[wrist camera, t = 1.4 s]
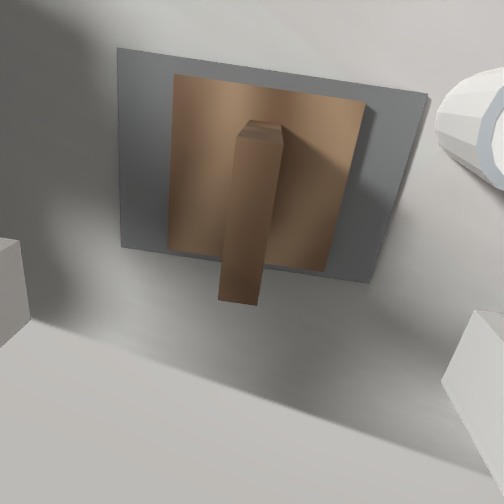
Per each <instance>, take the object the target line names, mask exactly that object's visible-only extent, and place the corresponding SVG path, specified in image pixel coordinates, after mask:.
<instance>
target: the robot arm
mask: <svg viewBox="0 0 504 504" xmlns="http://www.w3.org/2000/svg"><path fill="white" fill-rule="evenodd" d="M30 320H31V317H30V310H29V303H28V296H27V289H26V282H25V275H24V269H23V262H22V255H21V248H20V241H19V240H14V239H7V238H1V237H0V348H1V347H2V346H3V345H4V344H5V343H6V342H7V341H8V340H9V339H10V338H12V337H13V336H14V335H15V334H16V333H17V332H18V331H19V330H20V329H21V328H22V327H23V326H24V325H26V324H27V323H28V322H29V321H30ZM441 384H442V386H443V387H444V389H445V391H446V393H447V395H448V397H449V398H450V400H451V402H452V404H453V406H454V407H455V409H456V411H457V413H458V415H459V417H460V418H461V420H462V422H463V424H464V426H465V427H466V429H467V431H468V433H469V435H470V437H471V438H472V440H473V442H474V444H475V446H476V447H477V449H478V451H479V453H480V455H481V456H482V458H483V460H484V462H485V464H486V466H487V467H488V469H489V471H490V473H491V475H492V476H493V478H494V480H495V482H496V484H497V485H498V487H499V489H500V491H501V493H502V494H503V496H504V316H503V315H502V314H501V313H496V312H489V311H482V310H476V309H474V311H473V314H472V316H471V318H470V320H469V322H468V324H467V327H466V329H465V331H464V333H463V335H462V337H461V339H460V342H459V344H458V346H457V348H456V350H455V352H454V355H453V357H452V359H451V361H450V363H449V365H448V367H447V370H446V372H445V374H444V376H443V378H442V380H441Z"/></svg>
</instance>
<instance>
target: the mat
mask: <svg viewBox="0 0 504 504" xmlns="http://www.w3.org/2000/svg"><path fill="white" fill-rule="evenodd" d="M117 74H118V125H119V176H120V228H121V247H124V248H131V249H138V250H144V251H151V252H158V253H165V254H172V255H178V256H185V257H192V258H199V259H206V260H212V261H219V262H222V258H223V257H217V256H210V255H203V254H197V253H190V252H183V251H176V250H169V249H167V236H168V210H169V185H170V159H171V134H172V108H173V83H174V74H180V75H187V76H194V77H200V78H207V79H214V80H221V81H227V82H234V83H241V84H248V85H254V86H261V87H268V88H275V89H281V90H288V91H295V92H302V93H308V94H315V95H322V96H329V97H335V98H342V99H349V100H356V101H362V102H366V105H365V109H364V113H363V117H362V121H361V125H360V129H359V133H358V137H357V141H356V145H355V149H354V153H353V157H352V161H351V165H350V170H349V174H348V178H347V182H346V186H345V190H344V194H343V198H342V202H341V206H340V210H339V214H338V218H337V222H336V226H335V230H334V234H333V238H332V242H331V246H330V251H329V255H328V259H327V263H326V267H325V271H324V272H319V271H312V270H306V269H299V268H292V267H285V266H278V265H272V264H265V263H264V266H263V268H267V269H274V270H281V271H287V272H294V273H301V274H308V275H315V276H321V277H328V278H335V279H342V280H349V281H356V282H362V283H369V282H370V279H371V276H372V273H373V270H374V266H375V263H376V260H377V257H378V253H379V250H380V247H381V244H382V241H383V237H384V234H385V231H386V228H387V224H388V221H389V218H390V215H391V212H392V208H393V205H394V202H395V199H396V196H397V192H398V189H399V186H400V183H401V179H402V176H403V173H404V170H405V167H406V163H407V160H408V157H409V154H410V150H411V147H412V144H413V141H414V138H415V134H416V131H417V128H418V125H419V122H420V118H421V115H422V112H423V109H424V105H425V102H426V99H427V96H428V94H426V93H419V92H413V91H406V90H399V89H392V88H386V87H379V86H372V85H365V84H359V83H352V82H345V81H338V80H332V79H325V78H318V77H311V76H305V75H298V74H291V73H284V72H278V71H271V70H264V69H257V68H251V67H244V66H237V65H231V64H224V63H217V62H210V61H204V60H197V59H190V58H183V57H177V56H170V55H163V54H156V53H150V52H143V51H136V50H129V49H123V48H117Z"/></svg>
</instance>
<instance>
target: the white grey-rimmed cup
mask: <svg viewBox="0 0 504 504" xmlns="http://www.w3.org/2000/svg"><path fill="white" fill-rule="evenodd" d="M435 133H436V137H437V141H438V144H439V146H440V147H441V148H442V149H443V150H444V151H445V152H446V154H447V155H448V156H450V157H451V158H453V159H454V160H456V161H457V162H459V163H460V164H461V165H463V166H464V167H466V168H467V169H469V170H470V171H472V172H473V173H475V174H476V175H478V176H479V177H481V178H482V179H484V180H485V181H487V182H488V183H490V184H491V185H492V186H494V187H495V188H498V189H500V190H503V191H504V67H500V68H496V69H492V70H488V71H484V72H481V73H478V74H476V75H473V76H471V77H469V78H467V79H465V80H462V81H461V82H460V83H459V84H457V85H456V86H455V87H454V88H453V89H452V90H451V91H450V92H449V93H448V94H447V95H446V97H445V98H444V100H443V102H442V104H441V106H440V108H439V109H438V111H437V117H436V123H435Z"/></svg>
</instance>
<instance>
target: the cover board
mask: <svg viewBox="0 0 504 504" xmlns="http://www.w3.org/2000/svg"><path fill="white" fill-rule="evenodd" d="M365 105H366V102H362V101H356V100H349V99H342V98H335V97H329V96H322V95H315V94H308V93H302V92H295V91H288V90H281V89H275V88H268V87H261V86H254V85H248V84H241V83H234V82H227V81H221V80H214V79H207V78H200V77H194V76H187V75H180V74H174V83H173V108H172V134H171V159H170V185H169V210H168V236H167V249H169V250H176V251H183V252H190V253H197V254H203V255H210V256H217V257H223V258H222V267H221V276H220V285H219V294H218V300H221V301H228V302H235V303H242V304H248V305H255V306H257V302H258V296H259V290H260V284H261V278H262V272H263V266H264V263H265V264H272V265H278V266H285V267H292V268H299V269H306V270H312V271H319V272H324V271H325V267H326V263H327V259H328V255H329V251H330V246H331V242H332V238H333V234H334V230H335V226H336V222H337V218H338V214H339V210H340V206H341V202H342V198H343V194H344V190H345V186H346V182H347V178H348V174H349V170H350V165H351V161H352V157H353V153H354V149H355V145H356V141H357V137H358V133H359V129H360V125H361V121H362V117H363V113H364V109H365Z"/></svg>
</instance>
